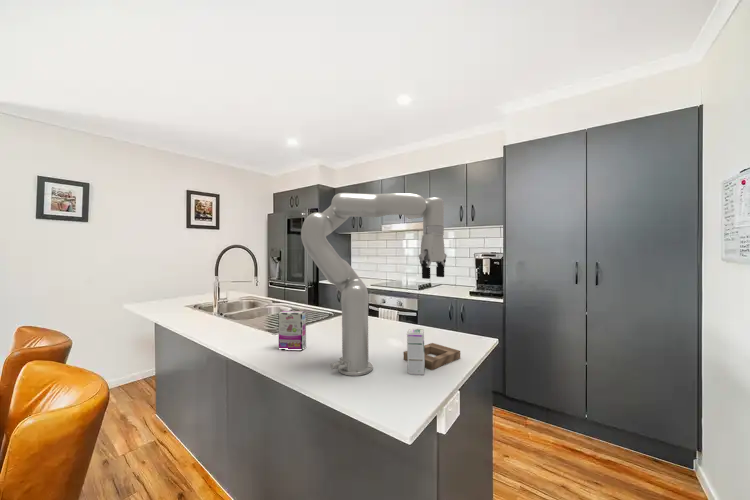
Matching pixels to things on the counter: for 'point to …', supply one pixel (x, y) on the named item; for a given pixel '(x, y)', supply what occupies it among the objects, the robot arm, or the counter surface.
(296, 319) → the candy bar box
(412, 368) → the syrup box
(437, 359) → the square wooden frame
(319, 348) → the counter surface
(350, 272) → the robot arm
